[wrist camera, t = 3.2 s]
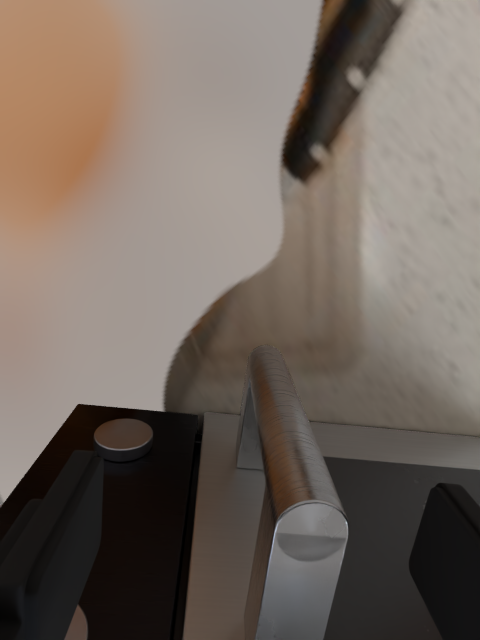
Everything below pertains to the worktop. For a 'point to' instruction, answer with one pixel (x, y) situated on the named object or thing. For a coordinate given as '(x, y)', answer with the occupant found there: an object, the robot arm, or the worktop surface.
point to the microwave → (128, 517)
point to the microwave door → (311, 520)
